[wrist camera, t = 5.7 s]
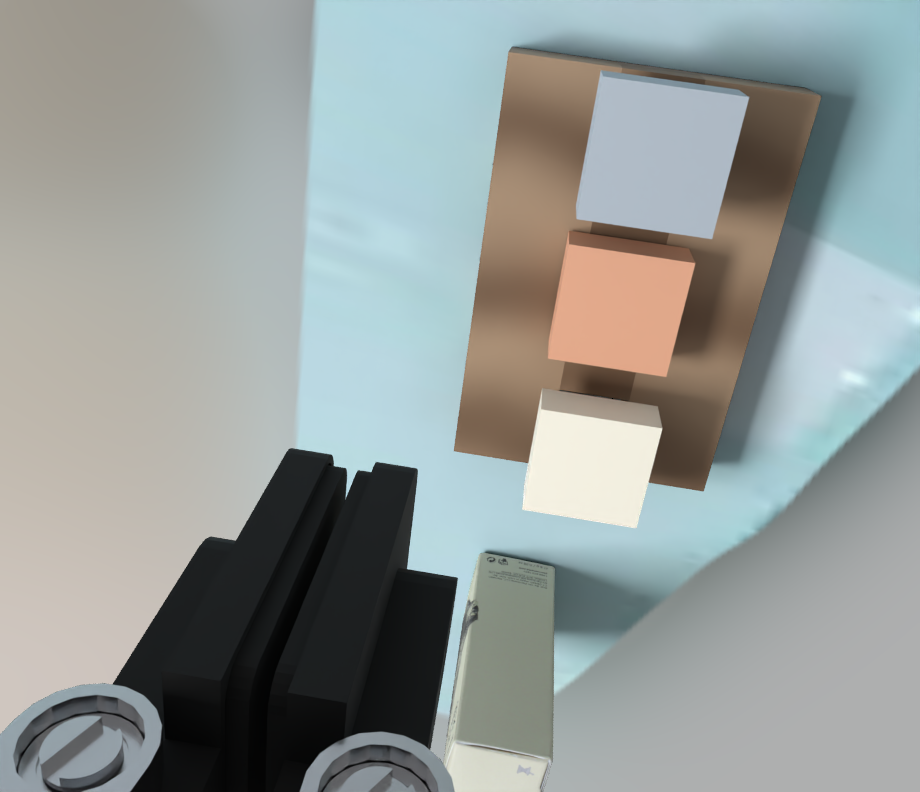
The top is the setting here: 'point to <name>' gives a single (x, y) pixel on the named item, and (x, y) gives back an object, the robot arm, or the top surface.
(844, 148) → the top surface
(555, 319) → the terracotta key
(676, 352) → the walnut board
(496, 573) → the box
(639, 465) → the cream key
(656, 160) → the slate key
